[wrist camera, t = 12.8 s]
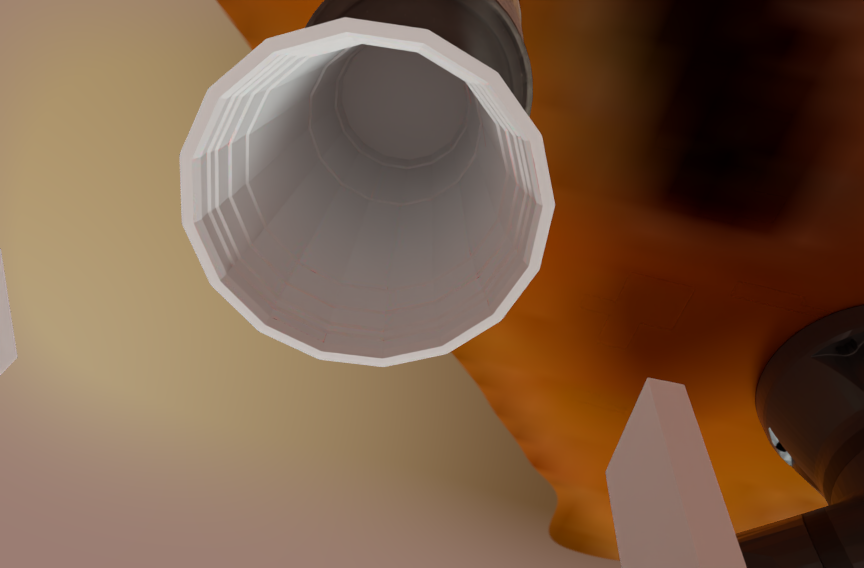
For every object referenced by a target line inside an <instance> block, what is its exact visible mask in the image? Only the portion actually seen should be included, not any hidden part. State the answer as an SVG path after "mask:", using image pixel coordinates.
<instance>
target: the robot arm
mask: <svg viewBox="0 0 864 568" xmlns="http://www.w3.org/2000/svg"><path fill="white" fill-rule="evenodd" d="M16 358H17V351H16V344H15V338H14V331H13V325H12V318H11V312H10V305H9V300H8V293H7V286H6V280H5V274H4V267H3V260H2V254H1V249H0V375H1V374H2V373H3V372H4V371H5V370H6V369H7V368H8V367H9V366H10V365H11V364H12V362H13V361H14V360H15V359H16ZM756 410H757V414H758V417H759V420H760V422H761V424H762V427H763V429H764V431H765V433H766V435H767V438H768V440H769V442H770V443H771V445H772V446H773V448H774V449H775V451H776V452H777V453H778V454H779V455H780V457H781V458H783V459H784V460H785V461H786V462H787V463H788V464H789V465H790V466H792V467H793V468H794V469H795V471H796V472H798V473H799V474H800V475H801V476H802V477H803V478H804V479H805V480H806V481H807V482H808V483H809V484H810V485H812V486H813V487H814V488H815V489H816V490H817V491H818V492H819V493H820V494H821V495H822V496H823V497H825V499H826V501H827V503H828V505H829V506H826V507H823V508H820V509H817V510H814V511H810V512H807V513H804V514H800V515H797V516H794V517H791V518H787V519H784V520H781V521H777V522H774V523H771V524H767V525H764V526H760V527H757V528H754V529H750V530H747V531H744V532H740V533H737V534H735V532H734V529H733V526H732V523H731V520H730V517H729V514H728V511H727V508H726V505H725V502H724V499H723V497H722V494H721V491H720V488H719V485H718V482H717V479H716V476H715V473H714V470H713V467H712V464H711V461H710V458H709V456H708V453H707V450H706V447H705V444H704V441H703V438H702V435H701V432H700V429H699V426H698V423H697V420H696V417H695V415H694V412H693V409H692V406H691V403H690V400H689V397H688V394H687V391H686V388H685V385H684V384H679V383H673V382H668V381H663V380H658V379H653V378H648V377H647V380H646V382H645V384H644V386H643V389H642V391H641V393H640V395H639V398H638V400H637V402H636V404H635V407H634V409H633V411H632V413H631V416H630V418H629V420H628V422H627V425H626V427H625V429H624V431H623V434H622V436H621V438H620V441H619V443H618V445H617V447H616V450H615V452H614V454H613V456H612V459H611V461H610V463H609V465H608V468H607V470H606V478H607V484H608V490H609V496H610V502H611V508H612V514H613V520H614V526H615V532H616V538H617V544H618V550H619V556H620V561H621V567H622V568H864V305H863V306H858V307H854V308H850V309H846V310H843V311H840V312H837V313H834V314H831V315H829V316H827V317H824V318H822V319H820V320H818V321H816V322H814V323H812V324H811V325H809V326H807V327H806V328H804V329H802V330H801V331H799V332H798V333H797V334H795V335H794V336H793V337H792V338H790V339H789V340H788V341H787V342H786V343H785V344H784V345H782V346H781V347H780V349H779V350H778V351H777V352H776V353H775V354H774V355H773V357H772V358H771V359H770V361H769V362H768V364H767V365H766V367H765V369H764V371H763V373H762V375H761V377H760V380H759V383H758V386H757V391H756Z"/></svg>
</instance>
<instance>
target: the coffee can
mask: <svg viewBox="0 0 864 568" xmlns="http://www.w3.org/2000/svg"><path fill="white" fill-rule="evenodd" d="M344 17H347V18H354V19H361V20H368V21H374V22H381V23H388V24H395V25H401V26H408V27H415V28H422V29H428V30H430V31H431V32H433V33H435V34H436V35H438V36H440V37H441V38H443V39H444V40H446V41H448V42H449V43H451V44H453V45H454V46H456V47H457V48H459V49H461V50H462V51H464V52H466V53H467V54H469V55H470V56H472V57H474V58H475V59H477V60H479V61H480V62H482V63H483V64H485V65H487V66H488V67H490V68H492V69H493V70H495V71H496V72H498V73H499V75H500V76H501V78H502V79H503V80H504V82H505V83H506V85H507V86H508V88H509V89H510V90H511V92H512V93H513V95H514V96H515V98H516V99H517V100H518V102H519V103H520V105H521V106H522V108H523V109H524V111H525V112H526V113H527V115H528V116H529V117H530V112H531V105H532V97H533V84H532V71H531V65H530V61H529V57H528V53H527V50H526V47H525V44H524V41H523V33H522V28H521V10H520V5H519V0H325V1H324V2H323V3H322V4H321V5H320V6H319V7H318V9H317V10H316V11H315V12H314V14H313V15H312V17H311V18H310V20H309V22H308V23H307V25H306V27H305V28H307V27H311V26H315V25H318V24H322V23H326V22H329V21H333V20H336V19H340V18H344Z"/></svg>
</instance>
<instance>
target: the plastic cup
mask: <svg viewBox="0 0 864 568" xmlns="http://www.w3.org/2000/svg"><path fill="white" fill-rule="evenodd" d="M180 181H181V182H180V184H181V212H182V213H181V214H182V225H183V227H184V229H185V231H186V234H187V236H188V238H189V240H190V242H191V244H192V246H193V248H194V250H195V252H196V255H197V257H198V259H199V261H200V263H201V265H202V267H203V270H204V272H205V274H206V276H207V278H208V280H209V282H210V285H211V286H212V287H213V288H214V289H215V290H216V291H217V292H219V293H220V294H221V295H222V296H223V297H224V298H225V299H226V300H227V301H228V302H229V303H230V304H231V305H232V306H233V307H234V308H235V309H236V310H237V311H238V312H239V313H240V314H241V315H242V316H243V317H244V318H246V320H247V321H248V322H250V323H251V324H252V325H253V326H254V327H255V328H256V329H257V330H258V331H259V332H261V333H263V334H266V335H268V336H270V337H272V338H274V339H276V340H278V341H280V342H282V343H285V344H287V345H289V346H291V347H293V348H295V349H298V350H300V351H302V352H304V353H306V354H308V355H310V356H313V357H315V358H317V359H320V360H328V361H337V362H345V363H353V364H362V365H370V366H379V367H387V366H391V365H396V364H401V363H406V362H411V361H415V360H420V359H425V358H430V357H435V356H439V355H444V354H447V353H449V352H451V351H452V350H454V349H456V348H457V347H459V346H460V345H462V344H464V343H465V342H467V341H469V340H470V339H472V338H474V337H475V336H477V335H478V334H480V333H482V332H483V331H485V330H487V329H488V328H490V327H492V326H493V325H495V324H496V323H498V322H500V321H501V320H502V319H503V317H504V316H505V315H506V313H507V312H508V311H509V309H510V308H511V307H512V305H513V304H514V303H515V301H516V300H517V299H518V297H519V296H520V295H521V293H522V292H523V291H524V289H525V288H526V287H527V285H528V284H529V283H530V281H531V280H532V279H533V277H534V276H535V275H536V274H537V272H538V271H539V269H540V265H541V261H542V257H543V253H544V249H545V245H546V241H547V236H548V232H549V228H550V224H551V220H552V216H553V212H554V208H555V202H554V197H553V191H552V186H551V181H550V176H549V170H548V165H547V160H546V154H545V149H544V144H543V139H542V135H541V133H540V132H539V131H538V129H537V128H536V126H535V125H534V123H533V122H532V121H531V119H530V118H529V116H528V115H527V113H526V112H525V111H524V109H523V108H522V106H521V105H520V103H519V102H518V100H517V99H516V98H515V96H514V95H513V93H512V92H511V90H510V89H509V88H508V86H507V85H506V83H505V82H504V80H503V79H502V78H501V76H500V75H499V73H498V72H496V71H495V70H493V69H492V68H490V67H488V66H487V65H485V64H483V63H482V62H480V61H479V60H477V59H475V58H474V57H472V56H470V55H469V54H467V53H466V52H464V51H462V50H461V49H459V48H457V47H456V46H454V45H453V44H451V43H449V42H448V41H446V40H444V39H443V38H441V37H440V36H438V35H436V34H435V33H433V32H431V31H430V30H428V29H422V28H415V27H408V26H401V25H395V24H388V23H381V22H374V21H368V20H361V19H354V18H347V17H344V18H340V19H336V20H333V21H329V22H326V23H322V24H318V25H315V26H311V27H307V28H304V29H300V30H297V31H293V32H289V33H286V34H282V35H278V36H275V37H271V38H268V39H266V40H264V41H263V42H262V43H261V44H260V45H259V46H257V47H256V48H255V49H254V50H253V51H252V52H250V53H249V54H248V55H247V56H246V57H245V58H243V59H242V60H241V61H240V62H239V63H238V64H236V65H235V66H234V67H233V68H232V69H231V70H229V71H228V72H227V73H226V74H225V75H224V76H222V77H221V78H220V79H219V80H218V81H217V82H215V83H214V84H213V85H212V86H211V87H210V88H208V90H207V92H206V95H205V97H204V99H203V102H202V104H201V106H200V109H199V111H198V113H197V116H196V118H195V120H194V122H193V125H192V127H191V129H190V132H189V134H188V136H187V139H186V141H185V143H184V145H183V148H182V150H181V153H180Z"/></svg>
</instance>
